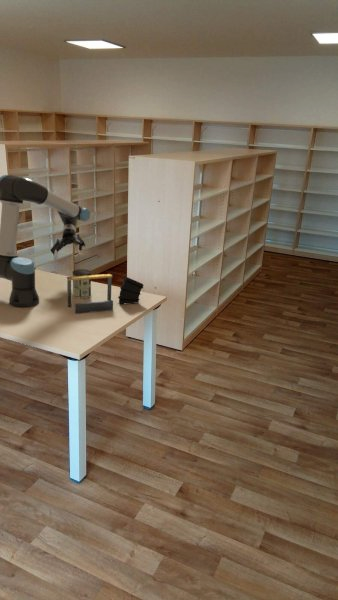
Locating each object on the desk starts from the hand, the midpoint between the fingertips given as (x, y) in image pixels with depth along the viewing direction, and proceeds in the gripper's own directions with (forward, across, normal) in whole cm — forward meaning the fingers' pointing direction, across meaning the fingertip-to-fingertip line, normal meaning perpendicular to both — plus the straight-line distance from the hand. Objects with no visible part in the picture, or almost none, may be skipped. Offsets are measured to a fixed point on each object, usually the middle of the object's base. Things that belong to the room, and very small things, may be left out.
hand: (66, 256), depth 245 cm
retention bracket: (+31, -11, -14) cm, 35 cm away
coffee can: (+14, -2, -19) cm, 24 cm away
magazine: (+23, -29, -24) cm, 44 cm away
